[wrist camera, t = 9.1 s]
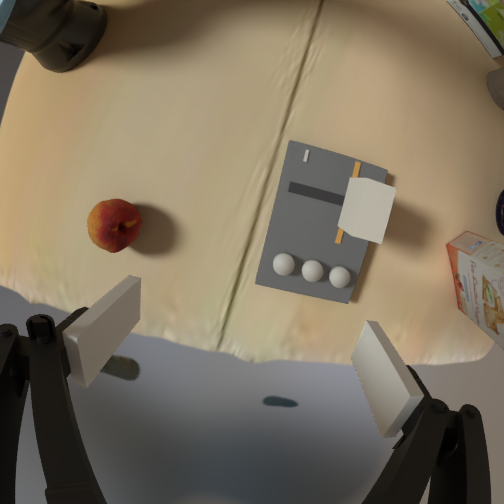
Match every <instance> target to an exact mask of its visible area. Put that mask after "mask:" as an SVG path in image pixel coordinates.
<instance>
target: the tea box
mask: <svg viewBox="0 0 504 504" xmlns="http://www.w3.org/2000/svg"><path fill="white" fill-rule="evenodd" d="M446 1H447V2H448V3H449V4H450V5H451V6H452V7H453V8H454V9H455V10H456V11H457V12H458V13H459V15H460V16H461V17H462V18H463V19H464V21H465V22H466V23H467V24H468V25H469V27H470V28H471V29H472V30H473V32H474V33H475V35H476V36H477V37H478V38H479V40H480V41H481V43H482V44H483V45H484V47H485V48H486V50H487V51H488V53H489V54H490V56H491V58H496V57H499V56H502V55H504V0H446Z"/></svg>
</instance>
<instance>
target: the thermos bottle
mask: <svg viewBox="0 0 504 504" xmlns="http://www.w3.org/2000/svg"><path fill="white" fill-rule="evenodd" d="M487 84H488V88H489V91H490V94H491V96H492V98H493V99H494V101H495V102H496V104H497V105H498V106H499V107H501V108H502V109H504V67H503V68H500V69H497V70H495V71H492V72H490V73H489V74H488V76H487Z"/></svg>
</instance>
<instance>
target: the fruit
mask: <svg viewBox="0 0 504 504" xmlns="http://www.w3.org/2000/svg"><path fill="white" fill-rule="evenodd" d="M87 227H88V233H89V236H90V238H91V240H92V241H93V243H94V244H96V245H97V246H98V247H100V248H102V249H105V250H107V251H109V252H111V253H115V252H119V251H121V250H123V249H124V248H126V247H127V246H129V245H130V244H131V243H132V242H133V241H134V240H135V239H136V237H137V236H138V233H139V230H140V227H141V217H140V214H139V212H138V210H137V209H136V208H135V207H134V206H133V205H132V204H130V203H129V202H127V201H124V200H121V199H111V200H106V201H102V202H100V203H98V204H97V205H96V206H95V207H94V208H93V209H92V211H91V212H90V214H89V216H88V220H87Z"/></svg>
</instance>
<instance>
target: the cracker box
mask: <svg viewBox="0 0 504 504" xmlns="http://www.w3.org/2000/svg"><path fill="white" fill-rule="evenodd" d="M446 246H447V250H448V254H449V259H450V263H451V268H452V273H453V278H454V283H455V289H456V295H457V301H458V308H459V310H461V311H462V312H463V313H464V314H465V315H467V316H468V317H469V318H470V319H471V320H472V321H473V322H474V323H475V324H477V325H478V326H479V327H480V328H481V329H482V330H483V331H484V332H485V333H486V334H488V335H489V336H490V337H491V338H492V339H493V340H494V341H495V342H496V343H497V344H498V345H499V346H500V347H501V348H502V349H503V350H504V245H502V244H499V243H497V242H494V241H492V240H489V239H487V238H485V237H482V236H479V235H477V234H474V233H471V232H469V231H466V232H465V233H463V234H462V235H460V236H459V237H457V238H456V239H454V240H453V241H451V242H450V243H448V244H446Z"/></svg>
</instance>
